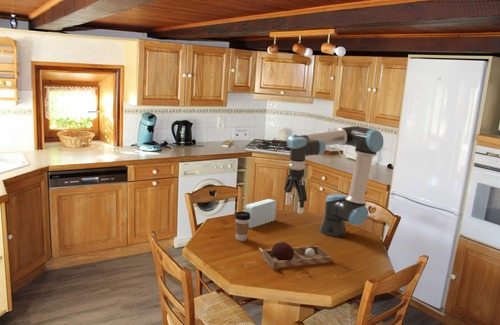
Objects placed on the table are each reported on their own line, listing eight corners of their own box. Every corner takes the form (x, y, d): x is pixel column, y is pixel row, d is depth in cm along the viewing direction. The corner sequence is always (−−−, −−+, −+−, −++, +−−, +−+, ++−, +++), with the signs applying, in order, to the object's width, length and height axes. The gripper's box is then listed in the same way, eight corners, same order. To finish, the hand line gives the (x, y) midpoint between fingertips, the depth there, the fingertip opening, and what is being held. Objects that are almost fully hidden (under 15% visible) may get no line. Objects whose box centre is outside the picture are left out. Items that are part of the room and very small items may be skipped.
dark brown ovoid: (287, 266, 212) (289, 248, 210) (267, 259, 219) (268, 241, 217) (297, 261, 219) (299, 243, 217) (277, 253, 226) (278, 236, 224)
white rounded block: (267, 217, 282) (269, 197, 279) (274, 220, 278) (276, 200, 275) (242, 225, 265) (244, 204, 262) (249, 228, 261) (251, 207, 258)
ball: (311, 255, 228) (312, 246, 226) (316, 259, 223) (317, 250, 222) (302, 256, 226) (303, 246, 225) (307, 260, 221) (308, 250, 220)
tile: (269, 247, 236) (269, 246, 236) (276, 255, 227) (276, 253, 227) (258, 248, 234) (258, 246, 234) (265, 256, 225) (266, 254, 224)
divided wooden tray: (316, 252, 234) (317, 245, 233) (330, 264, 221) (330, 256, 220) (262, 257, 223) (262, 250, 222) (273, 270, 210) (273, 262, 209)
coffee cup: (246, 242, 240) (248, 216, 237) (231, 240, 241) (233, 214, 238) (250, 237, 248) (252, 211, 245) (235, 235, 250) (237, 209, 246)
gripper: (279, 162, 230) (277, 201, 235) (302, 175, 208) (299, 217, 213) (292, 162, 233) (289, 200, 238) (316, 174, 211) (312, 216, 216)
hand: (294, 208), depth 225 cm, fingers open, 13 cm apart
